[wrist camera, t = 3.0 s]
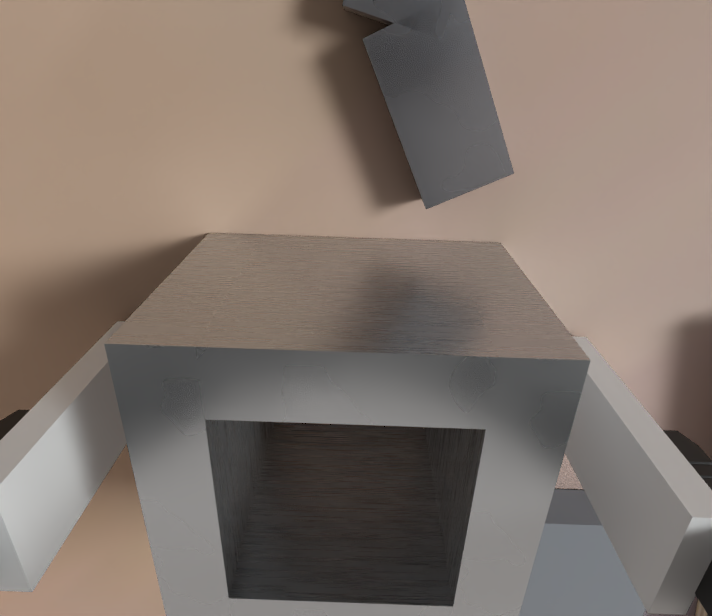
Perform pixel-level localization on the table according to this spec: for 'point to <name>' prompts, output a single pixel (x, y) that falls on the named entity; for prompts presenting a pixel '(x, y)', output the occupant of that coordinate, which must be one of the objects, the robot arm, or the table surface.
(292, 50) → the table surface
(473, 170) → the chain tail
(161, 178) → the table surface
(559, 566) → the keeper
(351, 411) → the square tube segment
